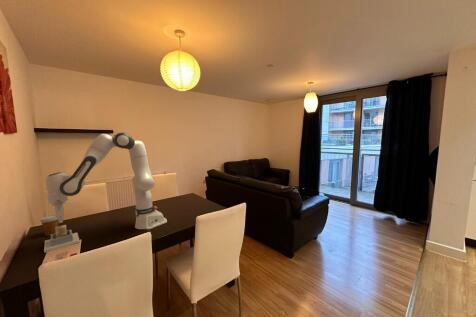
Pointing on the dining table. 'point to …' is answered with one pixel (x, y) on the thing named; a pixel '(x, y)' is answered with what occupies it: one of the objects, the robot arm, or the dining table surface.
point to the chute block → (61, 231)
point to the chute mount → (61, 241)
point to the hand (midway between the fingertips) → (60, 220)
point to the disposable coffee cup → (49, 224)
